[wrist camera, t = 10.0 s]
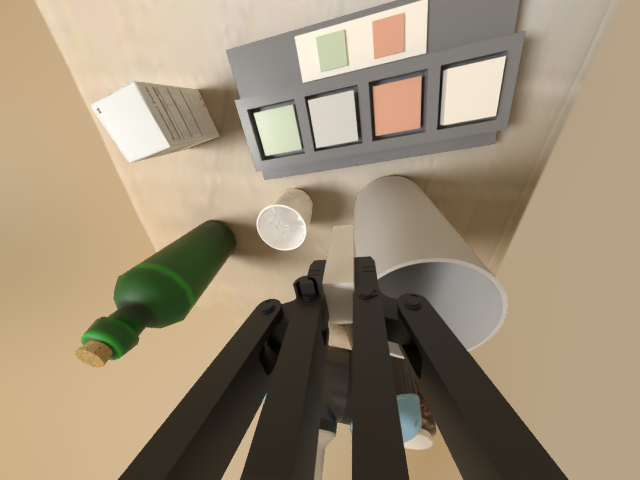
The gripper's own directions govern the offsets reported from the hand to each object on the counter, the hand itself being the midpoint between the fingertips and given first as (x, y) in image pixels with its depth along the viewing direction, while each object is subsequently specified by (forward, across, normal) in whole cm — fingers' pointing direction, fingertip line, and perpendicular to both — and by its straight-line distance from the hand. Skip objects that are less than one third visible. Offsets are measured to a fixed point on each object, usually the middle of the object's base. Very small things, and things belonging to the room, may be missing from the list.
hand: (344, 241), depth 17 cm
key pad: (+25, -3, -10) cm, 27 cm away
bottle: (+26, +30, +10) cm, 41 cm away
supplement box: (+25, +25, -12) cm, 37 cm away
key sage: (+23, +10, -8) cm, 26 cm away
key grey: (+21, +1, -8) cm, 23 cm away
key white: (+21, -16, -8) cm, 28 cm away
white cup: (+26, +11, +5) cm, 28 cm away
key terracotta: (+23, -7, -8) cm, 25 cm away
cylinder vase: (+26, -6, +8) cm, 27 cm away
